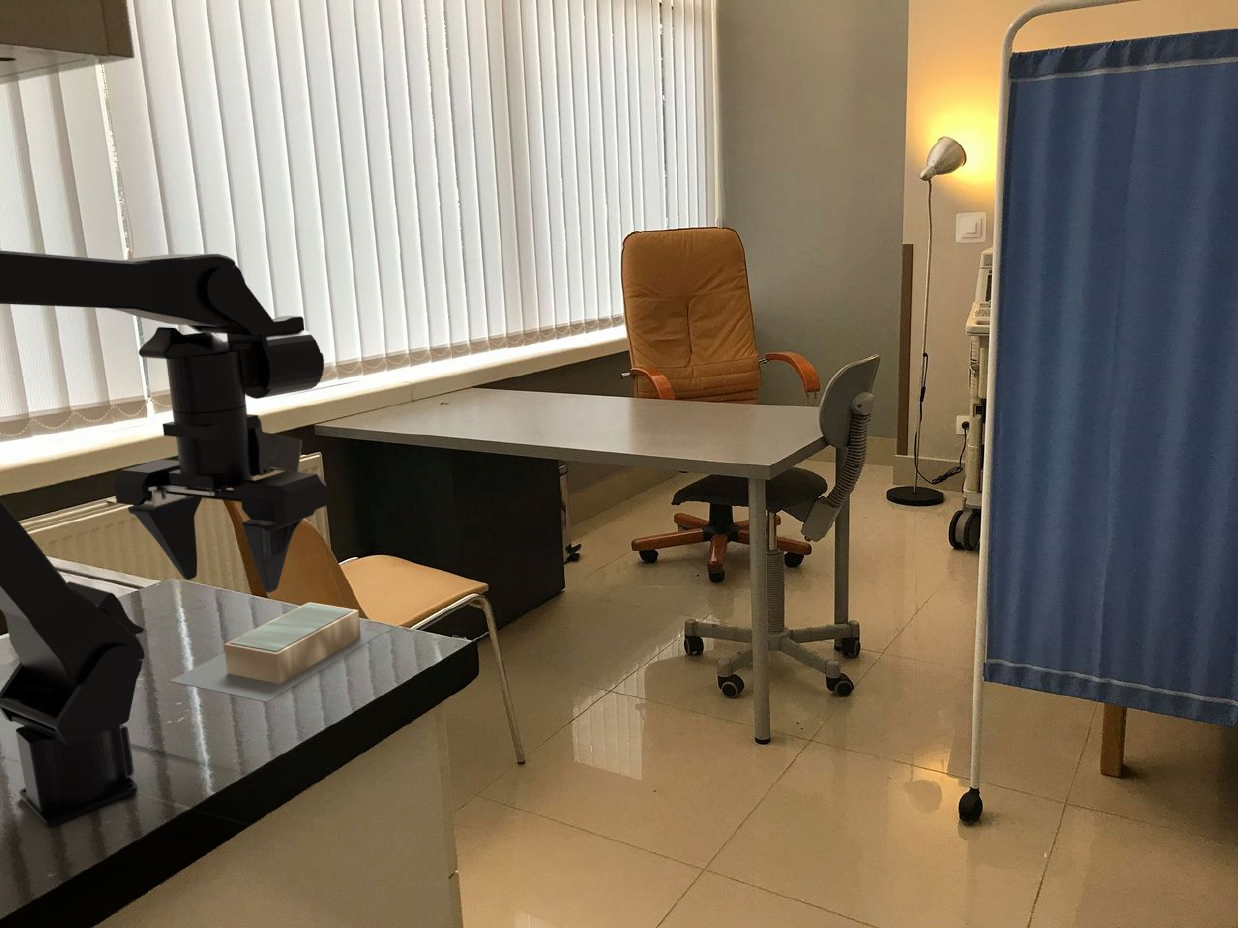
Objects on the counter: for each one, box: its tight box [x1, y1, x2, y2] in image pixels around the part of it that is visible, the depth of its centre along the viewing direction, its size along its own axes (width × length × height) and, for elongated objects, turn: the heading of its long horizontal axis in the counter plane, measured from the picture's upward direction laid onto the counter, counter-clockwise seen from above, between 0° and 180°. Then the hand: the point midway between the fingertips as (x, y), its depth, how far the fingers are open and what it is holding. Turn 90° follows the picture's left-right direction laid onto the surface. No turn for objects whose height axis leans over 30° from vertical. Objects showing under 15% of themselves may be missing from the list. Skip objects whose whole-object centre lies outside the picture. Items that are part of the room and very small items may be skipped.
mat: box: [169, 629, 383, 703], centre depth 100 cm, size 17×12×1 cm
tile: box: [223, 602, 361, 684], centre depth 100 cm, size 3×6×12 cm
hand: (230, 584), depth 87 cm, fingers open, 9 cm apart
